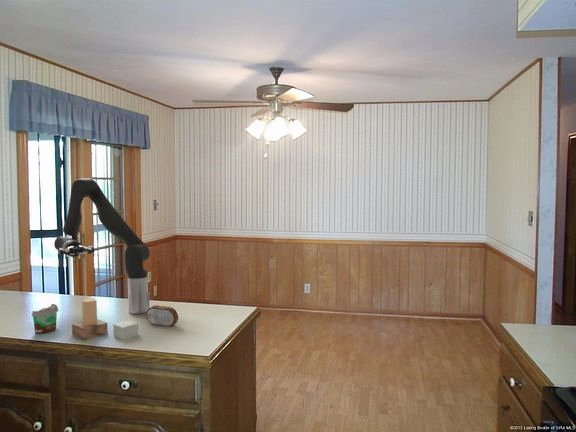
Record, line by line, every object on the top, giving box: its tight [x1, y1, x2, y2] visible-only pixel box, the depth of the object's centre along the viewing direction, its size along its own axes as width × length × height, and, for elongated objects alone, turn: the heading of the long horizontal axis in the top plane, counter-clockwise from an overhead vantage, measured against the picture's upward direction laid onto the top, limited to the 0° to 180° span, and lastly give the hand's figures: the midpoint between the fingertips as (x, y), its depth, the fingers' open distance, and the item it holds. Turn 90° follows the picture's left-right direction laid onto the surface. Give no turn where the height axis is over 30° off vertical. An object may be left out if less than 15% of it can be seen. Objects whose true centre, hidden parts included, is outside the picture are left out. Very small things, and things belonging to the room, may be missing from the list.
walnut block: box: [71, 318, 109, 341], centre depth 190 cm, size 10×10×5 cm
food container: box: [31, 303, 59, 335], centre depth 194 cm, size 12×6×10 cm, turn 168°
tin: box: [146, 304, 179, 327], centre depth 202 cm, size 15×3×8 cm, turn 71°
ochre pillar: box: [81, 297, 98, 326], centre depth 190 cm, size 5×5×10 cm
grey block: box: [113, 320, 139, 340], centre depth 189 cm, size 7×7×5 cm
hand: (79, 252), depth 204 cm, fingers open, 8 cm apart
